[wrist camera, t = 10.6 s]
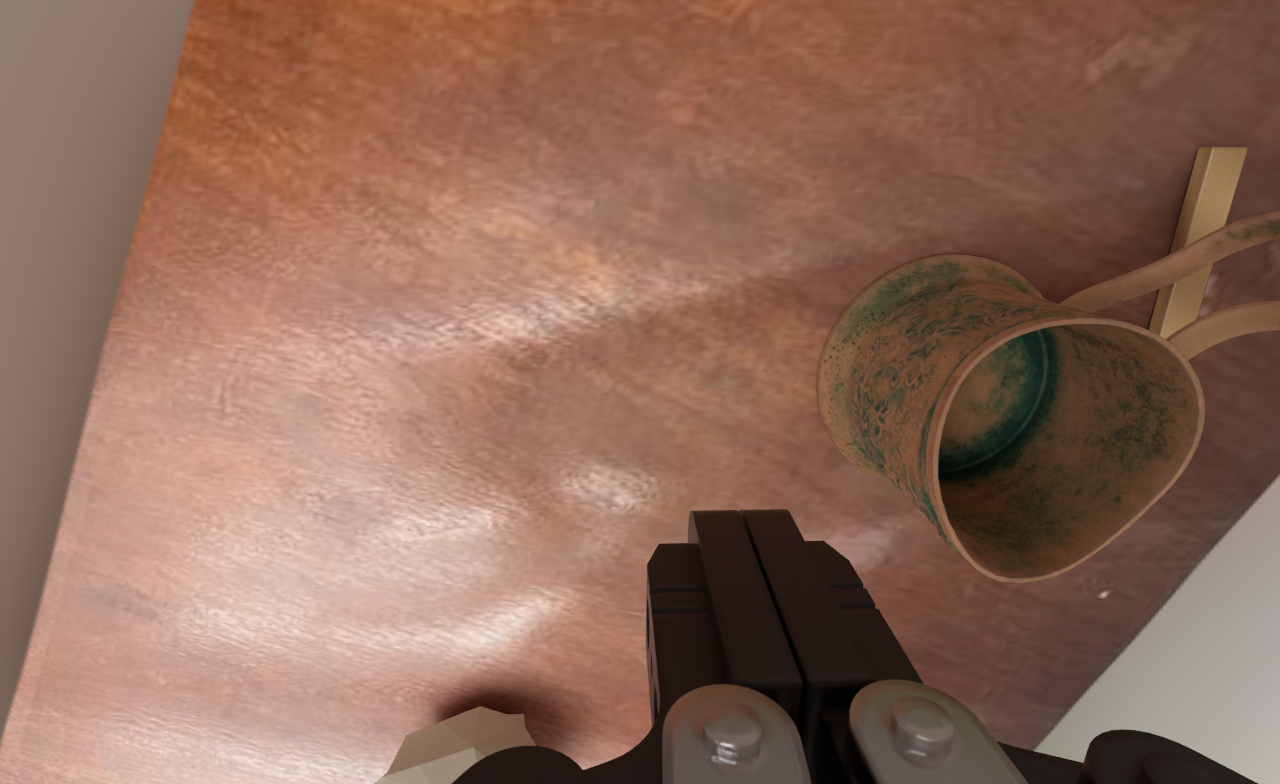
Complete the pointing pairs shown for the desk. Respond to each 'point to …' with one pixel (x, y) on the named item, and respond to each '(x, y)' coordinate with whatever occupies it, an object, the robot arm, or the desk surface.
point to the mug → (1025, 400)
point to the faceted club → (455, 746)
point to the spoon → (1198, 232)
